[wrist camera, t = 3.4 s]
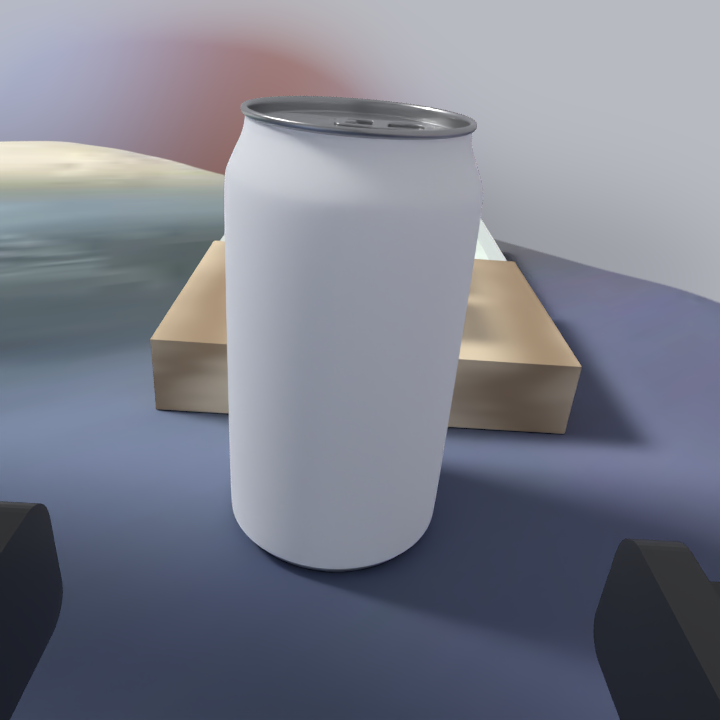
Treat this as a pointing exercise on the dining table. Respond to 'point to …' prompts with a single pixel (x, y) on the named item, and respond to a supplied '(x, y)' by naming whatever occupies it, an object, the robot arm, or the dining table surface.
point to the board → (475, 365)
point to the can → (344, 320)
